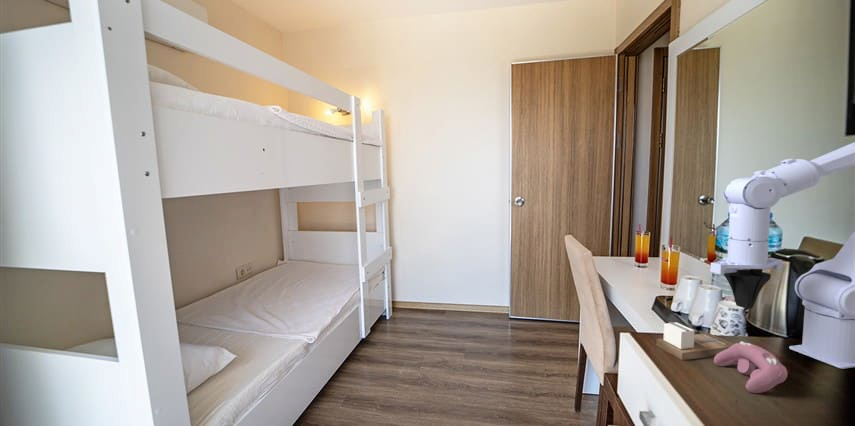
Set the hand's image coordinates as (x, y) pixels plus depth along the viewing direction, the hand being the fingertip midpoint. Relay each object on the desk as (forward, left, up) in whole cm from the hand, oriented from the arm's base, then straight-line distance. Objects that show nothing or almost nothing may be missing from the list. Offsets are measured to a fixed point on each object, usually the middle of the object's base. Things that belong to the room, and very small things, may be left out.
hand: (744, 306), depth 68 cm
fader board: (+8, -3, -9) cm, 12 cm away
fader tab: (+12, -3, -8) cm, 14 cm away
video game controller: (+9, +8, -10) cm, 15 cm away
